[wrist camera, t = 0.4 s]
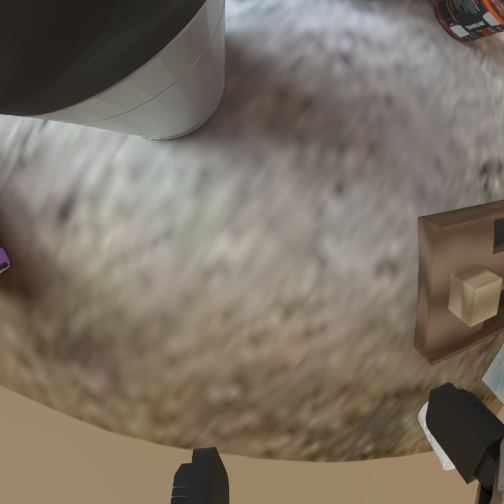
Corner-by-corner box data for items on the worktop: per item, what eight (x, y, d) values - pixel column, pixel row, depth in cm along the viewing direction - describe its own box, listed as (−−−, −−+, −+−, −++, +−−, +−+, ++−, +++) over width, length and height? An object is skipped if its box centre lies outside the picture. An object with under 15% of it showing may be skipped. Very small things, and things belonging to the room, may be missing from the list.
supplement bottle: (456, 50, 22) (532, 29, 11) (423, 4, 20) (490, -34, 9) (479, 34, 21) (547, 15, 10) (449, -9, 19) (511, -40, 8)
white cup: (415, 401, 34) (449, 451, 25) (460, 377, 34) (497, 419, 25) (412, 432, 37) (439, 477, 27) (453, 410, 37) (483, 450, 27)
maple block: (451, 273, 26) (475, 289, 22) (477, 264, 26) (502, 278, 22) (448, 309, 27) (470, 327, 23) (474, 298, 27) (496, 314, 23)
